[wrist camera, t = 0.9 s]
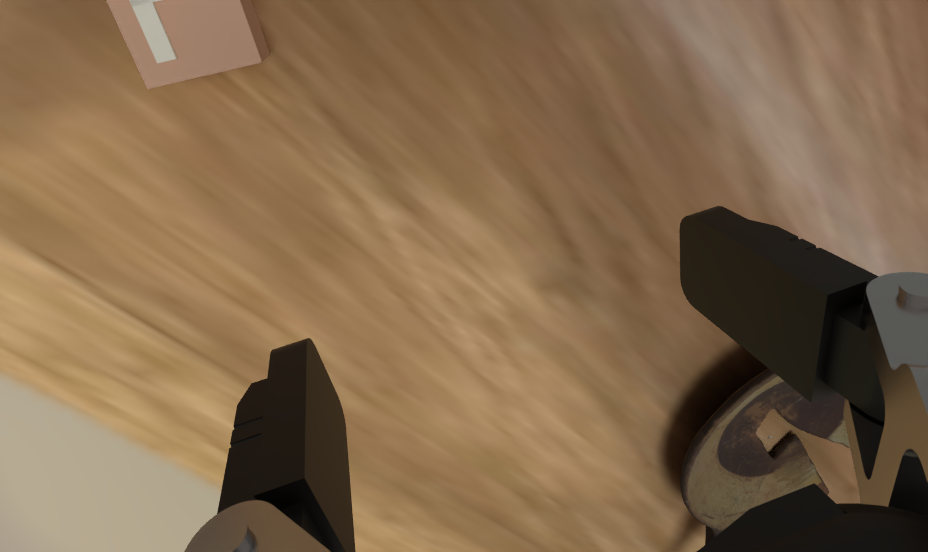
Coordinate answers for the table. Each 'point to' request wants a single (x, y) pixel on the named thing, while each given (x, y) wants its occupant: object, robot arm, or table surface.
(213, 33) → the letter cube
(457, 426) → the table surface
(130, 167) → the table surface
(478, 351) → the table surface
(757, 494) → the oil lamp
